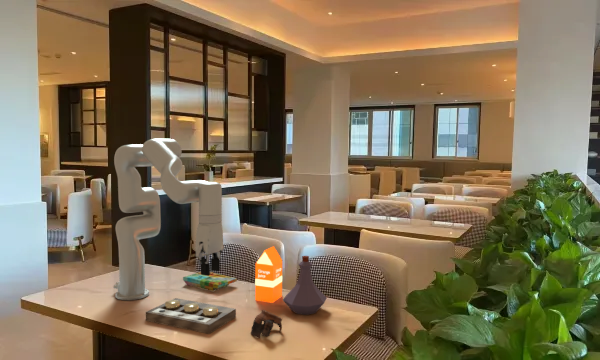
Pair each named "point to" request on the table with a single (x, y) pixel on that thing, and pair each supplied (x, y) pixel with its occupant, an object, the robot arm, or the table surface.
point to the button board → (191, 317)
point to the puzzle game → (208, 281)
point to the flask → (305, 292)
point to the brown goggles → (265, 324)
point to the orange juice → (268, 276)
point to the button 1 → (172, 305)
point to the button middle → (191, 308)
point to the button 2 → (210, 312)
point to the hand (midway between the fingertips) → (210, 272)
